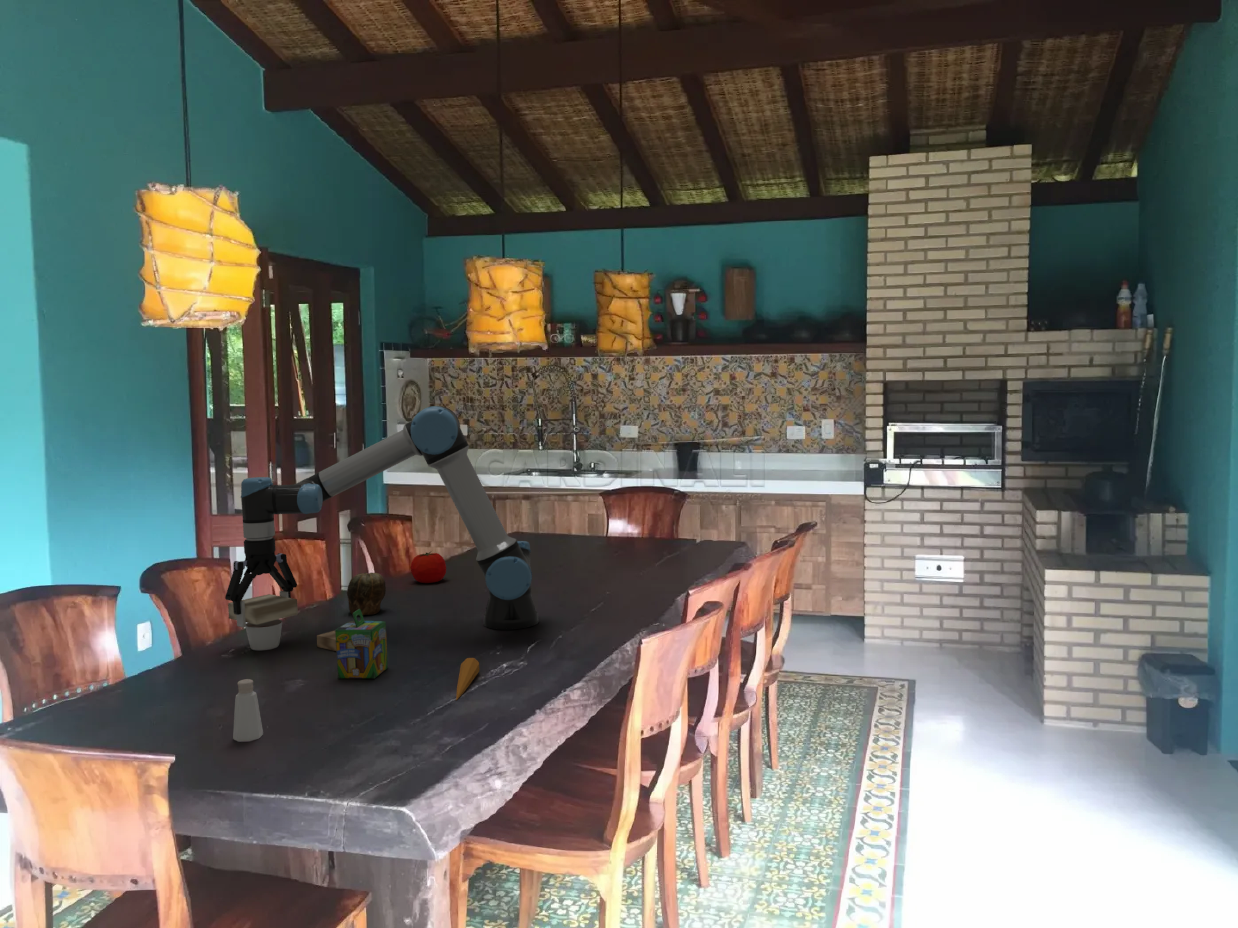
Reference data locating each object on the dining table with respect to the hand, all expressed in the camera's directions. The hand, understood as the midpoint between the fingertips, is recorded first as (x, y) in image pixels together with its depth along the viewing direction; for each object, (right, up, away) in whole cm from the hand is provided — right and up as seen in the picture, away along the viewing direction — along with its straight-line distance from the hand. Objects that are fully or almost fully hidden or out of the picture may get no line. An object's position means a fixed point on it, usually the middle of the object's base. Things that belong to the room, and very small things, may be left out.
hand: (263, 621), depth 248 cm
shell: (+17, -4, +36) cm, 40 cm away
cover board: (0, +1, 0) cm, 1 cm away
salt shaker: (+20, -12, -63) cm, 68 cm away
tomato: (+27, 0, +78) cm, 83 cm away
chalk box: (+32, -8, -24) cm, 41 cm away
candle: (0, -7, +1) cm, 7 cm away
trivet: (+20, -6, +1) cm, 21 cm away
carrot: (+57, -9, -35) cm, 67 cm away
